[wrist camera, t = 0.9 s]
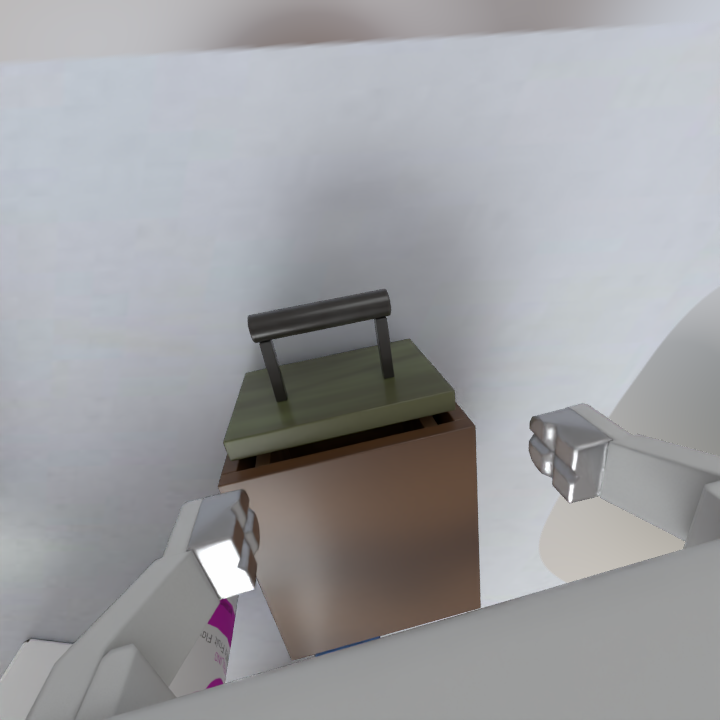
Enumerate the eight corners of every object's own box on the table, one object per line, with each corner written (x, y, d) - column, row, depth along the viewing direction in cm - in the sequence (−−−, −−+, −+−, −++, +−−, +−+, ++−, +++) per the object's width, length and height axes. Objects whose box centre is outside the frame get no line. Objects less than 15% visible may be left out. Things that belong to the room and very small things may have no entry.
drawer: (221, 301, 22) (184, 345, 14) (402, 266, 22) (449, 292, 15) (292, 517, 29) (290, 617, 22) (425, 485, 30) (465, 570, 23)
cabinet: (245, 390, 25) (217, 486, 16) (416, 353, 26) (475, 425, 17) (293, 534, 31) (291, 661, 22) (431, 499, 32) (480, 608, 23)
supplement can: (232, 542, 30) (178, 816, 17) (246, 605, 33) (210, 876, 20) (129, 557, 29) (-19, 864, 15) (154, 620, 32) (49, 920, 19)
